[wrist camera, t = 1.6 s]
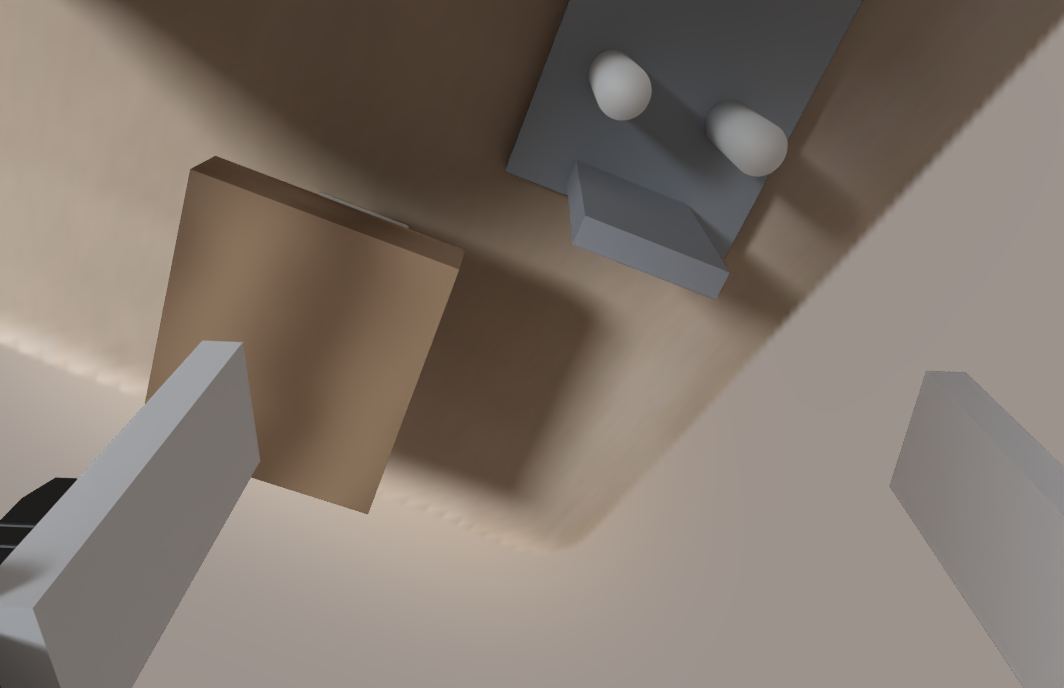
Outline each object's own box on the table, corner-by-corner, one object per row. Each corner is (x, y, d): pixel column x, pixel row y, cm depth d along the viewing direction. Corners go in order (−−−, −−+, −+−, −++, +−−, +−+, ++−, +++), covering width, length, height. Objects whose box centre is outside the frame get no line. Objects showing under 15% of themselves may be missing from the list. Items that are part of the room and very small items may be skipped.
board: (162, 413, 30) (137, 441, 28) (215, 155, 26) (190, 169, 24) (378, 483, 31) (367, 514, 30) (465, 250, 27) (459, 269, 25)
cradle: (506, 165, 31) (492, 230, 23) (690, -321, 24) (761, -470, 16) (719, 250, 33) (776, 338, 25) (951, -186, 26) (1134, -261, 18)
